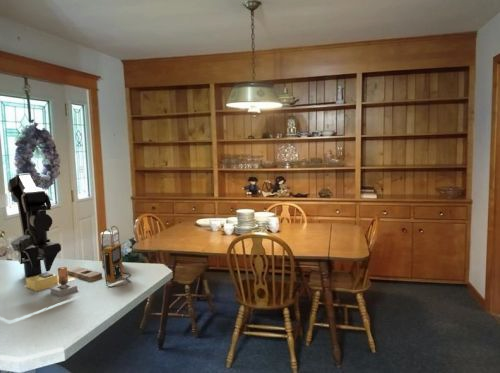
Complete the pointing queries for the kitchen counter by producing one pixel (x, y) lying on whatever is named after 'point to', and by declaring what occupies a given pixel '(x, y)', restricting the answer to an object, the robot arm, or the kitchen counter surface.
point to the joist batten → (84, 274)
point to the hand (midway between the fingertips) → (40, 269)
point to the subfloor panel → (57, 283)
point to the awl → (63, 277)
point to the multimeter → (113, 261)
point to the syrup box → (108, 241)
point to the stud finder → (41, 281)
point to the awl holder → (62, 292)
